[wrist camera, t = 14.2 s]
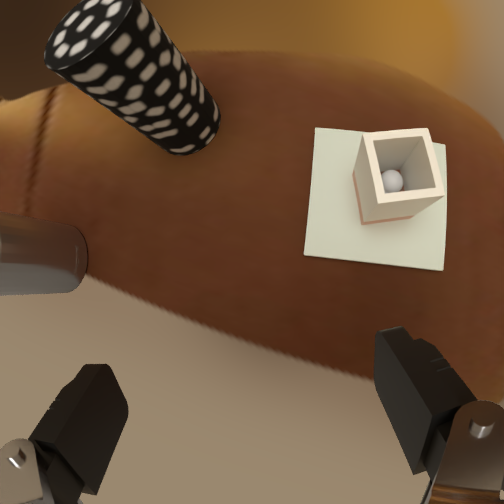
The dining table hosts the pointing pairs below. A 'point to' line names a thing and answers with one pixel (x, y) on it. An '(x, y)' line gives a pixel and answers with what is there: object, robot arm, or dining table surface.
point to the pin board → (348, 218)
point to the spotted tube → (134, 73)
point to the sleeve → (403, 161)
